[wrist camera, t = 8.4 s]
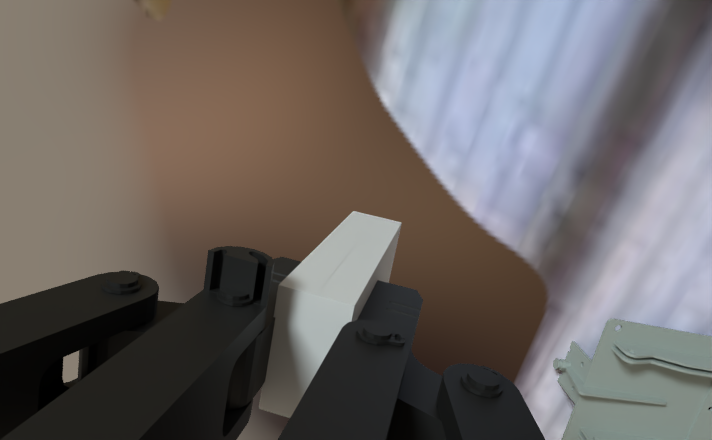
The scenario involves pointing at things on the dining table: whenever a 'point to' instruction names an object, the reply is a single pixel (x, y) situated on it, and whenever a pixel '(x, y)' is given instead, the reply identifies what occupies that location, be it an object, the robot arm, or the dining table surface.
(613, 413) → the metal bracket
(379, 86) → the dining table surface
